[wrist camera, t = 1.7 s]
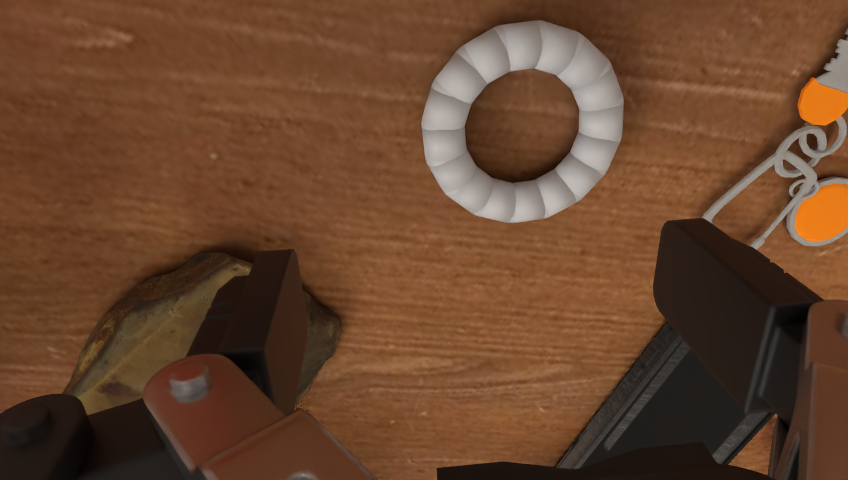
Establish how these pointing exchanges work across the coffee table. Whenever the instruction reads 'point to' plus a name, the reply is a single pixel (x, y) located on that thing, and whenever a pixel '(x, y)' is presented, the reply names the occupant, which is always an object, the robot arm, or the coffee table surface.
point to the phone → (666, 409)
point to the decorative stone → (173, 332)
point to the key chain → (810, 163)
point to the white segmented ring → (490, 61)
